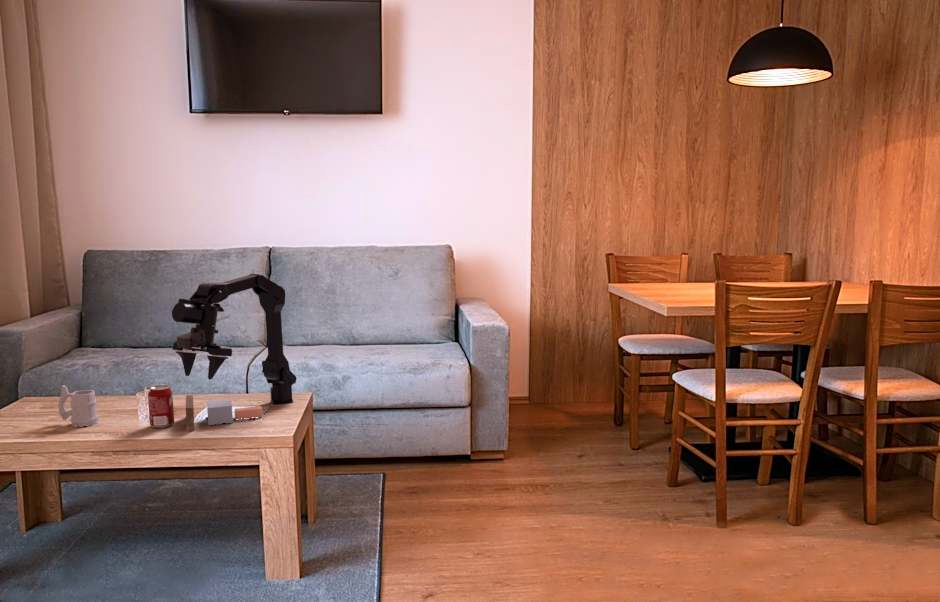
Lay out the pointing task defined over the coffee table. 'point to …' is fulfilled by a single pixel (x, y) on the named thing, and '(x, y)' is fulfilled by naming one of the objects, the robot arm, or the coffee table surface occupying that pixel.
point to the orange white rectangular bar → (248, 412)
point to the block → (219, 411)
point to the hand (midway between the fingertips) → (198, 377)
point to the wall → (189, 413)
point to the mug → (79, 407)
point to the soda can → (161, 406)
